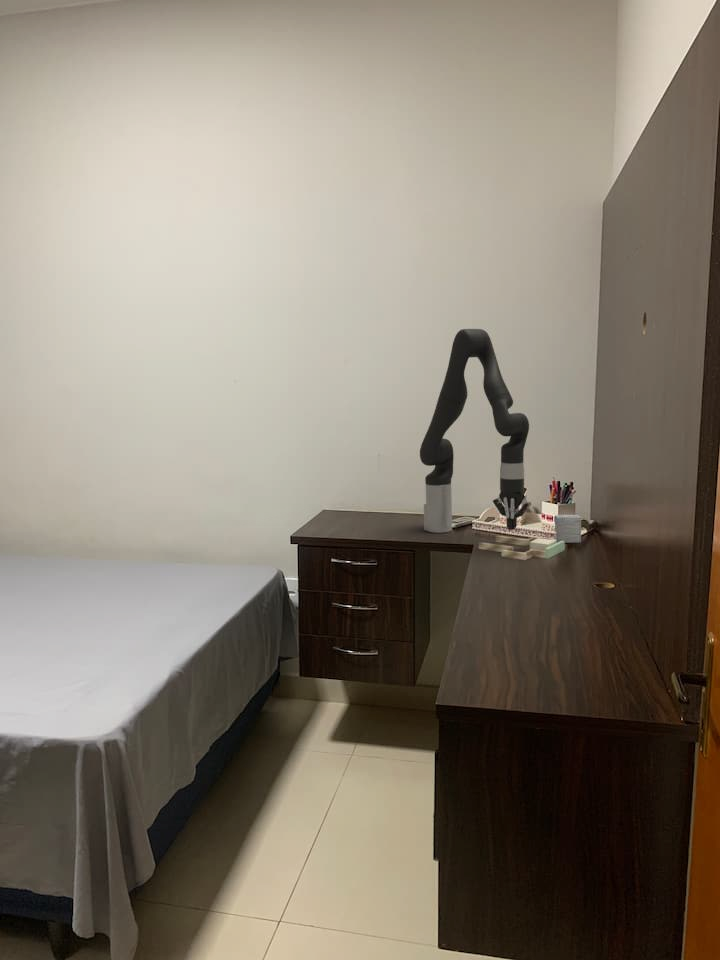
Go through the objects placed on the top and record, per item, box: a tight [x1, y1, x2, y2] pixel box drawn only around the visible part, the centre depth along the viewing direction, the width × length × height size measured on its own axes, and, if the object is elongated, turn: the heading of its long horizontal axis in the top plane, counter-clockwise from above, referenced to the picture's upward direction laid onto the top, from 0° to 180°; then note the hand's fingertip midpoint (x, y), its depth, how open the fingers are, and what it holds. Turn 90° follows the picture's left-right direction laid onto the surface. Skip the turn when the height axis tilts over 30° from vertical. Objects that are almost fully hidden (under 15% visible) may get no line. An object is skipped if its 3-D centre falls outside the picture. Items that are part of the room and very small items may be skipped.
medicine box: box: [554, 514, 582, 544], centre depth 244 cm, size 8×4×9 cm, turn 84°
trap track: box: [478, 535, 566, 561], centre depth 236 cm, size 24×22×3 cm
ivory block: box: [529, 538, 557, 551], centre depth 231 cm, size 6×6×4 cm
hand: (511, 529), depth 237 cm, fingers closed
